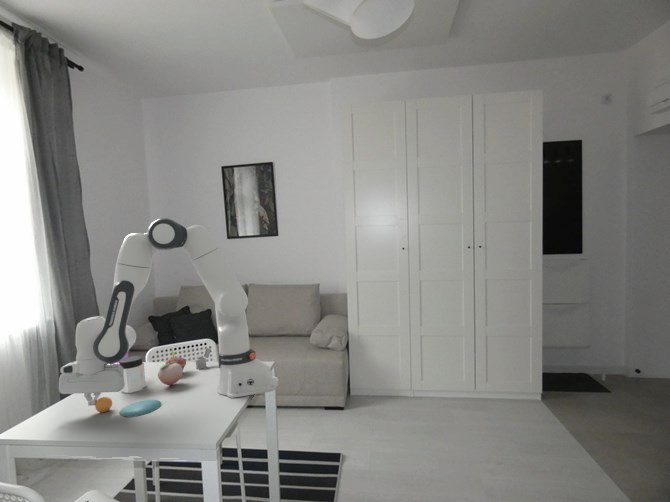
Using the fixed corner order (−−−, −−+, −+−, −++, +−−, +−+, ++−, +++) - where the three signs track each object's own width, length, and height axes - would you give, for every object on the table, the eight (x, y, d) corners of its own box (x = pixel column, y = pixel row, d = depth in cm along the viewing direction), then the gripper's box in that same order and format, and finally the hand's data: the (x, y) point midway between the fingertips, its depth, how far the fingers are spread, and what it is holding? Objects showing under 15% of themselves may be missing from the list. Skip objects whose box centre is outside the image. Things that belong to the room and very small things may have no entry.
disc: (166, 398, 145) (166, 398, 145) (152, 414, 132) (152, 414, 132) (129, 402, 144) (129, 401, 144) (111, 418, 131) (111, 417, 131)
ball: (108, 411, 140) (117, 399, 140) (102, 417, 135) (111, 405, 135) (96, 403, 139) (105, 391, 139) (89, 409, 134) (98, 397, 134)
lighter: (198, 369, 176) (197, 351, 176) (196, 369, 177) (194, 351, 177) (212, 364, 182) (210, 347, 182) (209, 364, 183) (208, 347, 183)
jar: (121, 395, 151) (118, 363, 151) (119, 389, 158) (116, 359, 158) (147, 389, 156) (144, 358, 156) (144, 383, 163) (141, 354, 163)
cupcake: (182, 377, 168) (179, 348, 167) (162, 378, 168) (159, 350, 167) (189, 370, 176) (187, 343, 176) (170, 371, 176) (168, 344, 176)
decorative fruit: (173, 390, 153) (171, 364, 152) (155, 389, 155) (153, 364, 154) (188, 381, 162) (186, 357, 161) (171, 380, 164) (169, 356, 163)
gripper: (127, 360, 140) (128, 400, 141) (66, 362, 139) (67, 402, 139) (118, 366, 134) (120, 407, 134) (55, 368, 133) (56, 410, 133)
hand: (93, 404), depth 137 cm, fingers closed
